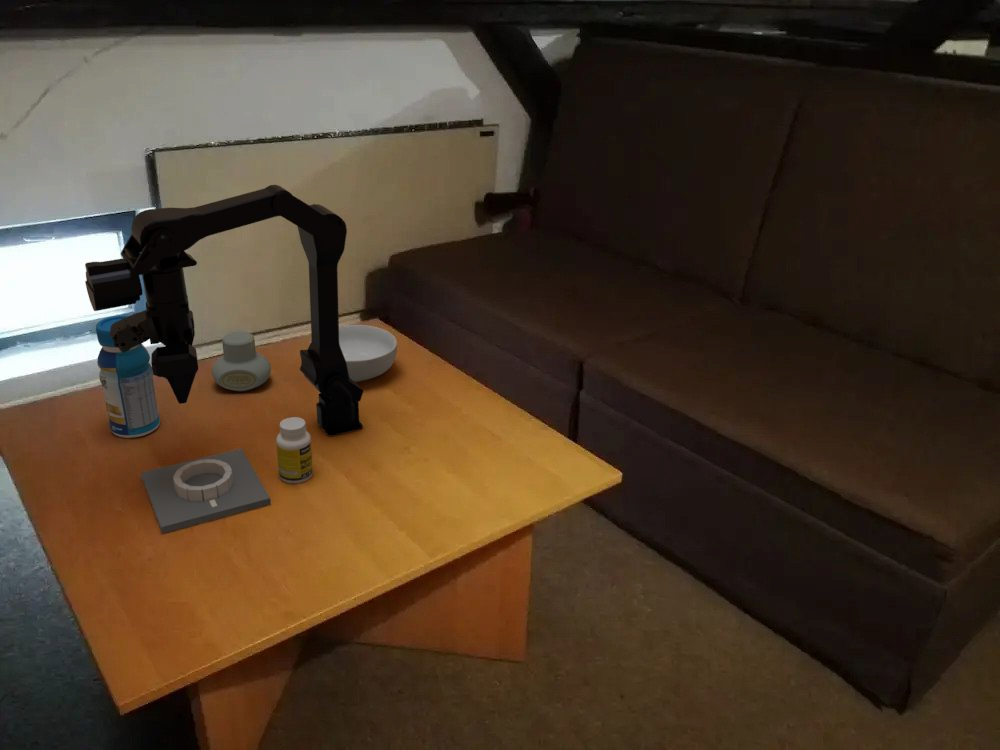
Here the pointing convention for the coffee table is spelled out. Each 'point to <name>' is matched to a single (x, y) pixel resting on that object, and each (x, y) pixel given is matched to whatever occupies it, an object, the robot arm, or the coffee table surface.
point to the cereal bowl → (367, 350)
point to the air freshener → (240, 363)
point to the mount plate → (204, 490)
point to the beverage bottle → (126, 385)
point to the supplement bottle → (294, 451)
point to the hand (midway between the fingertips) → (181, 389)
